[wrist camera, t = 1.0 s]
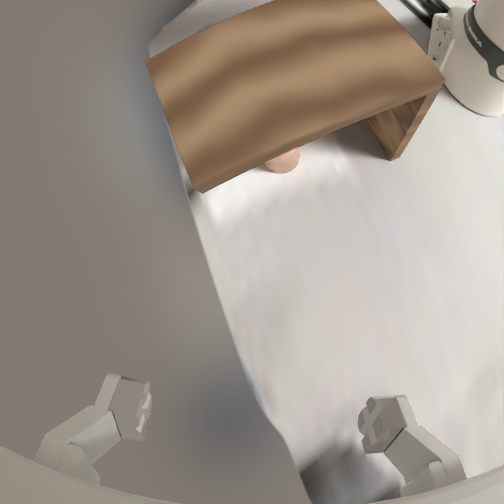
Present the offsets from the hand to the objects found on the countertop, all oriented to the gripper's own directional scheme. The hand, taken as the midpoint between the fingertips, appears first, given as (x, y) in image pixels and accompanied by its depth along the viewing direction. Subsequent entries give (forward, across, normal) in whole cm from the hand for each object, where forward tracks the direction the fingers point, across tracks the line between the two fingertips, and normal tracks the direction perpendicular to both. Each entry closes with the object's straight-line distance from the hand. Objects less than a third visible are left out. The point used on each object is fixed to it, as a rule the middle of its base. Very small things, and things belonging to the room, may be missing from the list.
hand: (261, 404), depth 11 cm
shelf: (+38, -6, -5) cm, 39 cm away
